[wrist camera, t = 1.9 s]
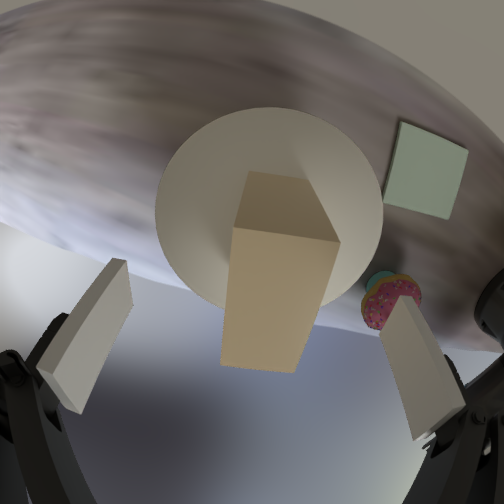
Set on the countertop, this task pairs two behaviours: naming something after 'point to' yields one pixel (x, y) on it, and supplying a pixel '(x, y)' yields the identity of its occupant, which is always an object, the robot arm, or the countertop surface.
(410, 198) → the mat
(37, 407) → the robot arm
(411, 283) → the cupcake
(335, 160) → the lid
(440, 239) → the countertop surface
